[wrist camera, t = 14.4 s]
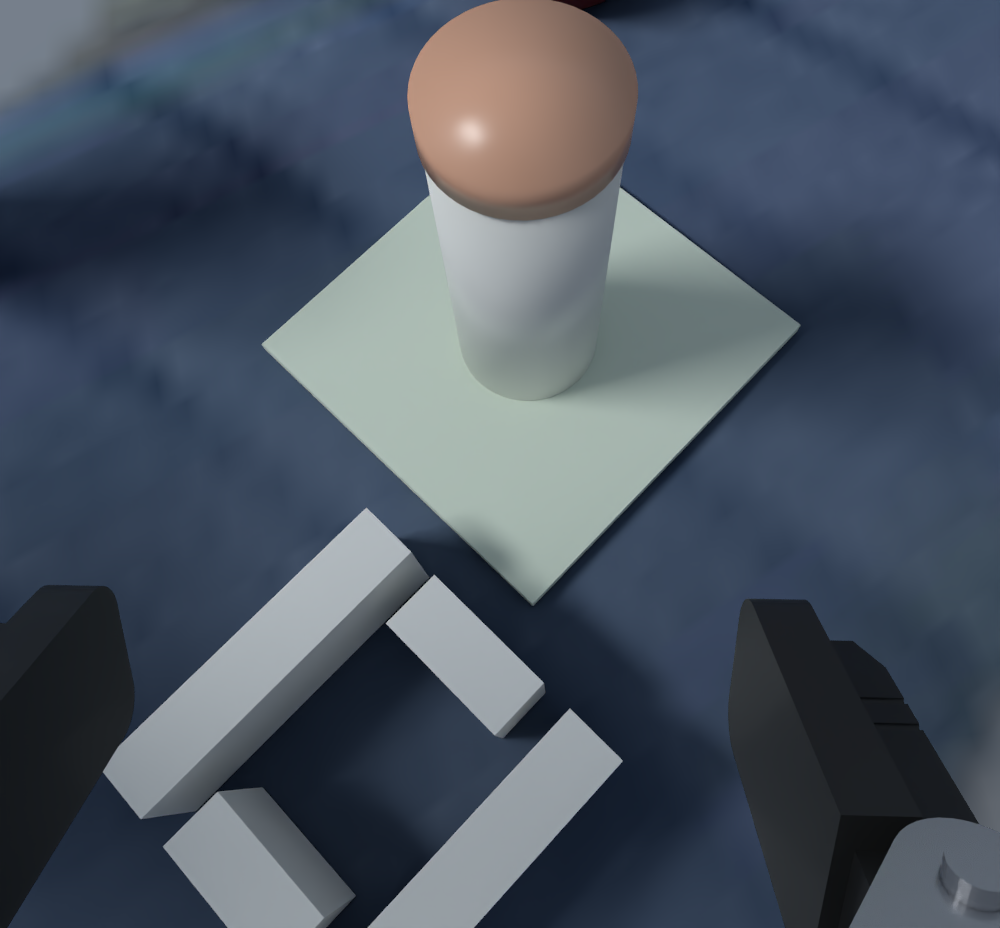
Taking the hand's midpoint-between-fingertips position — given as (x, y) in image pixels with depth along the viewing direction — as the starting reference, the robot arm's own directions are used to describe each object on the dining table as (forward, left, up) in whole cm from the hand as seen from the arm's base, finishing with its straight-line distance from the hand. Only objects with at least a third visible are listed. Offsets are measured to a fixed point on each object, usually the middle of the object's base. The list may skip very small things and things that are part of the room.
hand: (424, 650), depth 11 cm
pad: (-9, +10, -18) cm, 23 cm away
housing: (-2, -4, -18) cm, 19 cm away
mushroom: (-9, +10, -18) cm, 22 cm away
